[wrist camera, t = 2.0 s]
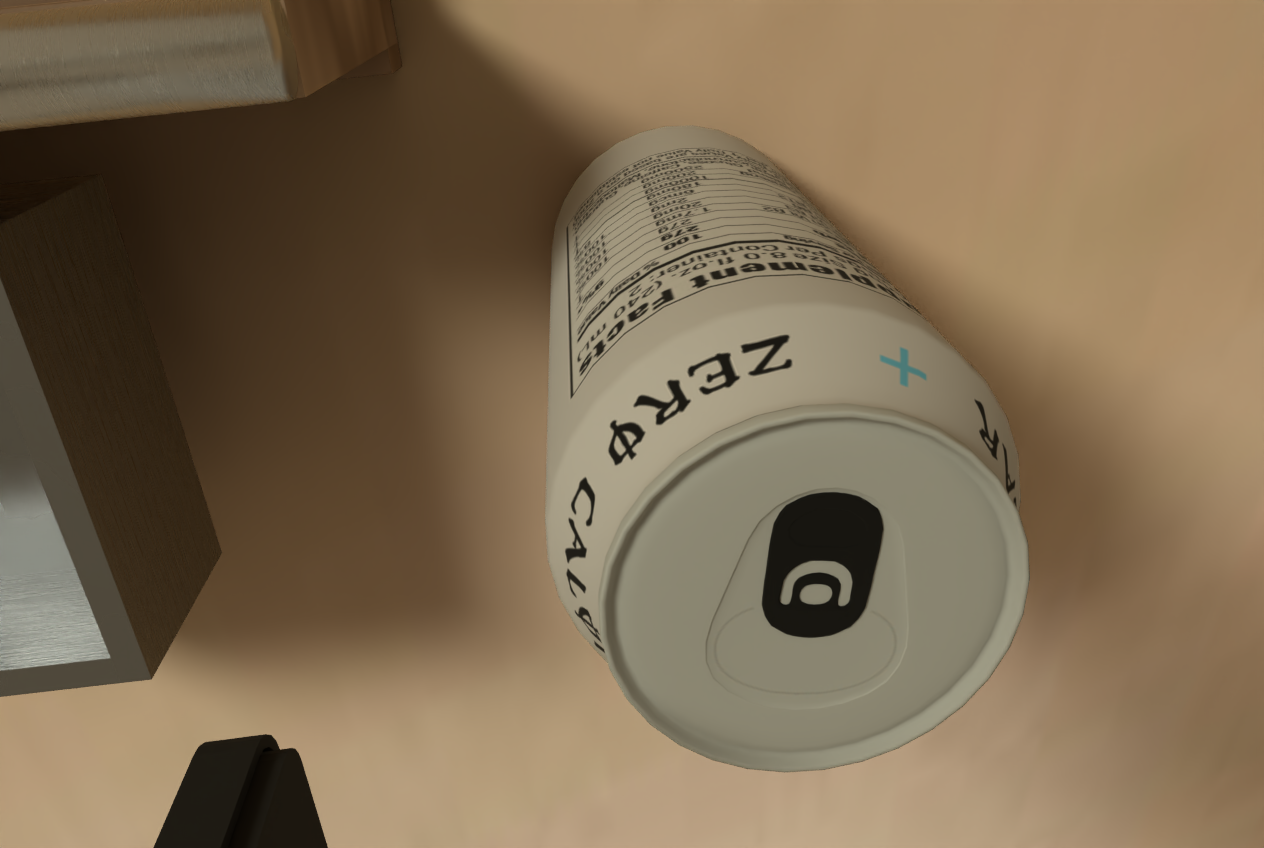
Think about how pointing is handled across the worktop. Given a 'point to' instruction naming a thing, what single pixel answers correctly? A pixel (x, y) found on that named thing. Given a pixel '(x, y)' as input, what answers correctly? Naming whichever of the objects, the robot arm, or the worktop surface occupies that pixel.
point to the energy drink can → (766, 467)
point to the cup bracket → (118, 322)
